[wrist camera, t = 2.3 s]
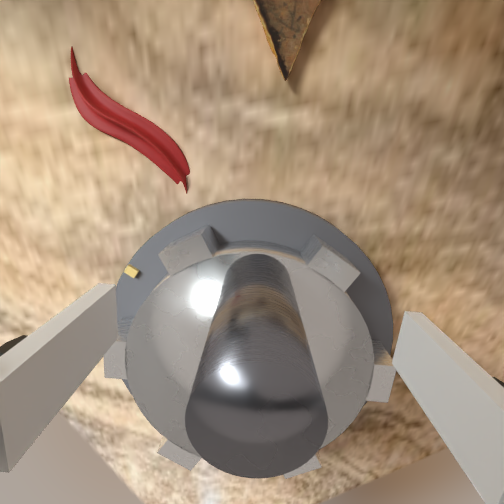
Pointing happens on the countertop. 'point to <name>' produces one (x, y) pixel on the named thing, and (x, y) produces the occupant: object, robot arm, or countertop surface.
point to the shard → (285, 27)
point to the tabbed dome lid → (250, 355)
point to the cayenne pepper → (127, 126)
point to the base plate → (258, 229)
